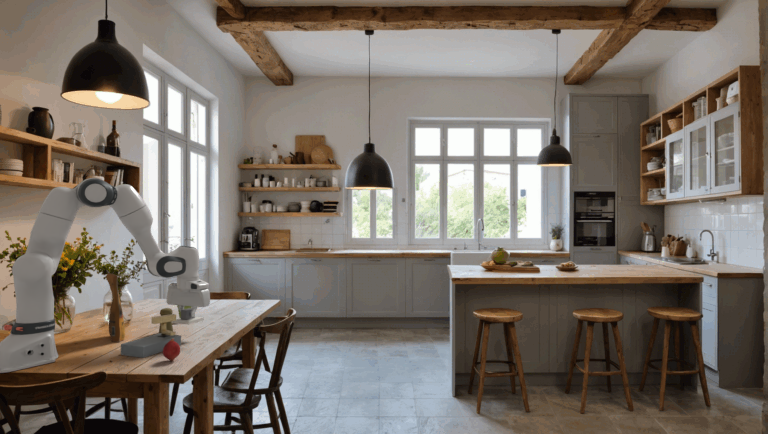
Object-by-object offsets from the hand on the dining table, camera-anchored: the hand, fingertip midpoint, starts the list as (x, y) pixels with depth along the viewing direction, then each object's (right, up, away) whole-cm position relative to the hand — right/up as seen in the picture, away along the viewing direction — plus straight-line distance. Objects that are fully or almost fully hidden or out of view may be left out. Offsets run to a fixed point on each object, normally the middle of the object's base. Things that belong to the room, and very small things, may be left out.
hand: (187, 316), depth 203 cm
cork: (-15, -10, +12) cm, 22 cm away
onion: (+7, -10, -30) cm, 32 cm away
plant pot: (-17, -11, +40) cm, 44 cm away
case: (-7, -10, -16) cm, 20 cm away
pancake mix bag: (-32, -10, +1) cm, 33 cm away
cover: (0, -2, 0) cm, 2 cm away
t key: (-3, -5, -12) cm, 14 cm away
